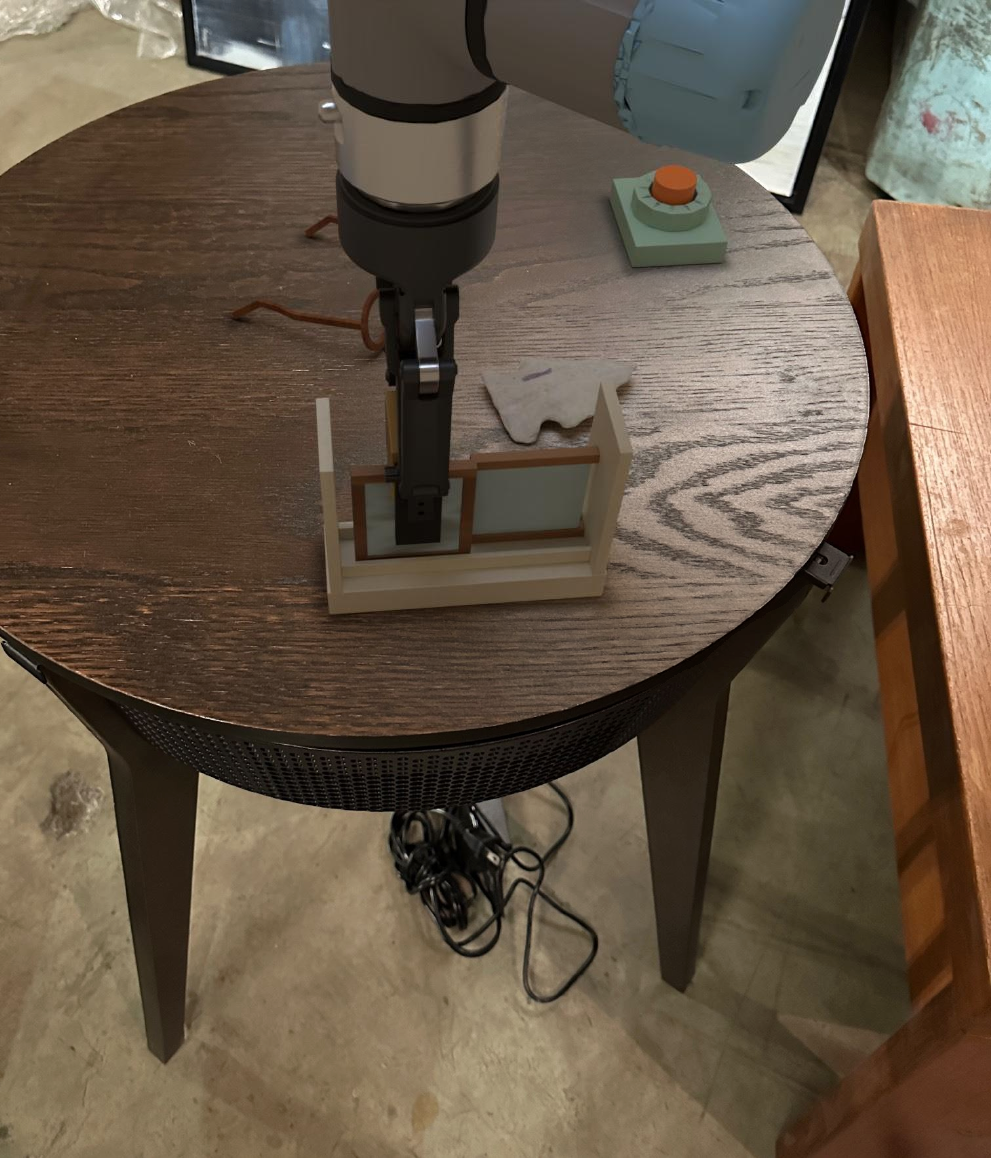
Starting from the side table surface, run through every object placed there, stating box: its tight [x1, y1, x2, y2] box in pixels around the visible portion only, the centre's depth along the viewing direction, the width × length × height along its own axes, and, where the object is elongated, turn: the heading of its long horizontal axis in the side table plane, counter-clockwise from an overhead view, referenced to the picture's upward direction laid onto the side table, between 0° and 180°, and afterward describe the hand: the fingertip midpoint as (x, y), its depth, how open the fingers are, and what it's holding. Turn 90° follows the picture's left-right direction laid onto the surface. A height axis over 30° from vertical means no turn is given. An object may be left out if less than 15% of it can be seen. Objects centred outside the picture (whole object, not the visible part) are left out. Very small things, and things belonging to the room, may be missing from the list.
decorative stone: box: [480, 356, 638, 444], centre depth 85 cm, size 8×12×3 cm
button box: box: [609, 169, 729, 268], centre depth 97 cm, size 8×10×4 cm
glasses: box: [231, 214, 385, 352], centre depth 91 cm, size 13×13×5 cm
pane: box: [349, 390, 477, 561], centre depth 68 cm, size 8×5×13 cm, turn 95°
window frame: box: [315, 381, 635, 615], centre depth 70 cm, size 18×6×14 cm, turn 95°
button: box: [651, 164, 697, 206], centre depth 95 cm, size 4×4×2 cm
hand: (413, 502), depth 69 cm, fingers closed on pane, 5 cm apart
